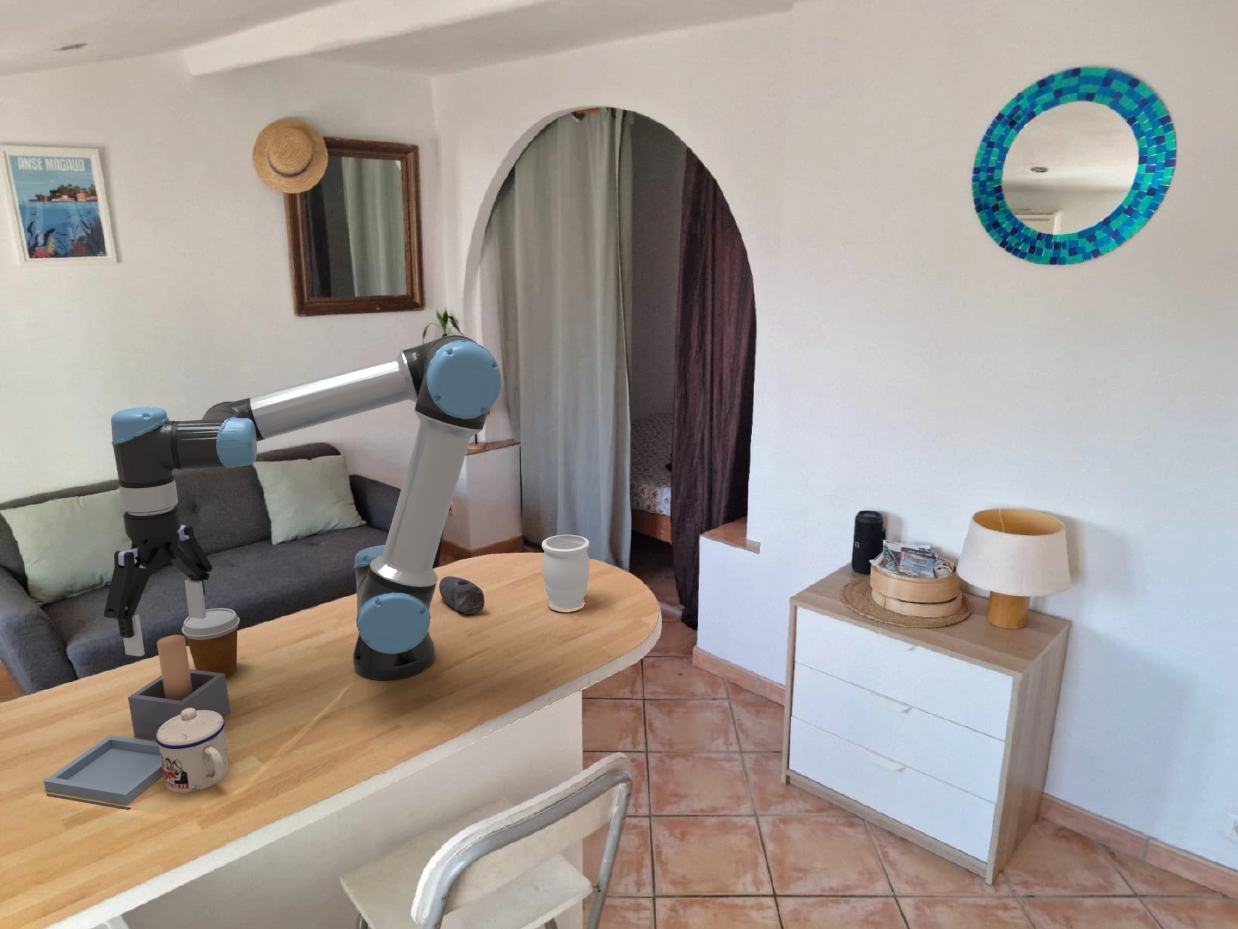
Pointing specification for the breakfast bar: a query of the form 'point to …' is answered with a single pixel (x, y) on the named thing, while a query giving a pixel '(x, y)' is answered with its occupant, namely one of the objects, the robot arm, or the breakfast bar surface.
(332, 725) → the breakfast bar surface
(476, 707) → the breakfast bar surface
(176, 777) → the teacup with lid
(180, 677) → the dowel
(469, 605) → the perforated stone tool
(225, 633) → the disposable coffee cup
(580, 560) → the jar
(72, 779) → the tray
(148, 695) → the open square box
